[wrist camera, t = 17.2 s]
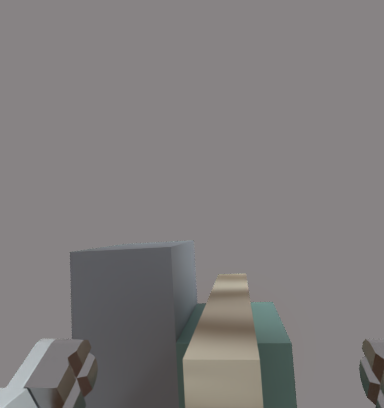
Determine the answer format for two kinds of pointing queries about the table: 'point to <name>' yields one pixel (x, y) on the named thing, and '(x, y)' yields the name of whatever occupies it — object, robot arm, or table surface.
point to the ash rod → (224, 351)
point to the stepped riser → (157, 326)
